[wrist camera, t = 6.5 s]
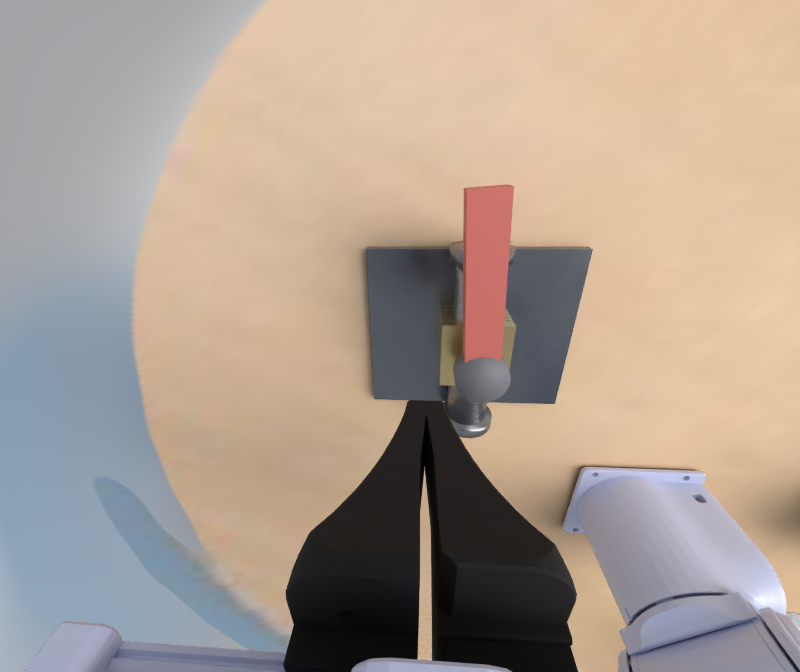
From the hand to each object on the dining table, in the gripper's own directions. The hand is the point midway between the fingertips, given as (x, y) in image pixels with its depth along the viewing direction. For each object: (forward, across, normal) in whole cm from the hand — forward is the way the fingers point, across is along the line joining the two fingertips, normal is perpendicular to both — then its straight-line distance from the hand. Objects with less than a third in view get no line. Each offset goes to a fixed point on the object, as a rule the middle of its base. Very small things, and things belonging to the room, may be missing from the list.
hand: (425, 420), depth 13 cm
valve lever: (+5, -3, -3) cm, 7 cm away
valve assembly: (+10, -3, +1) cm, 11 cm away
